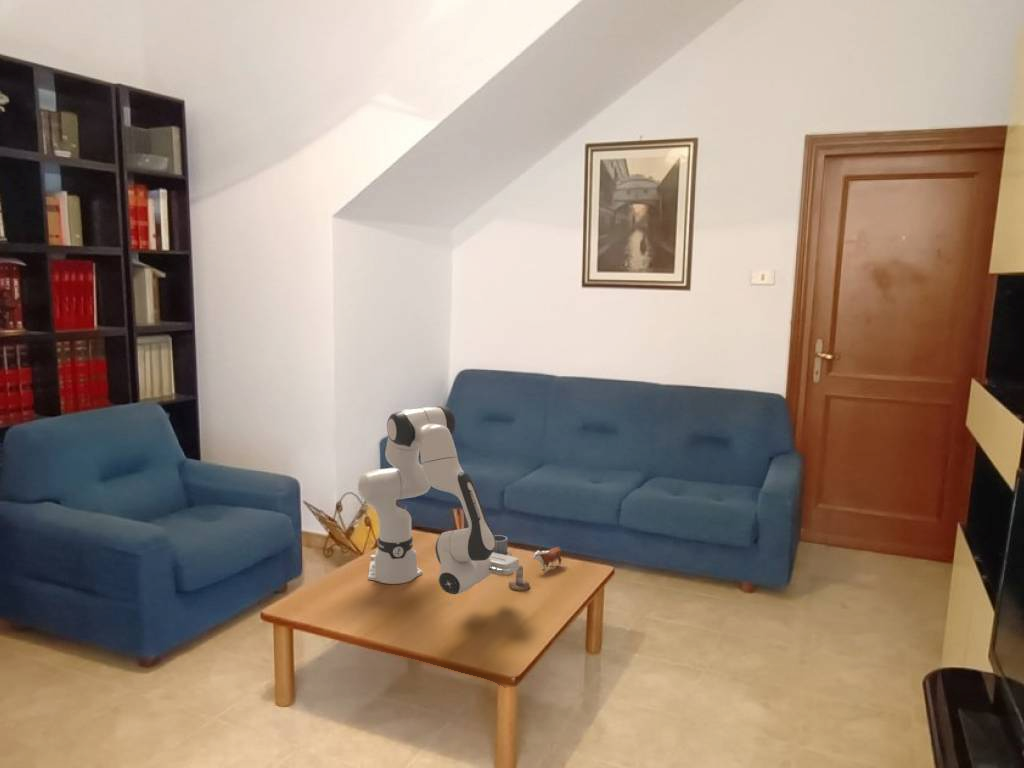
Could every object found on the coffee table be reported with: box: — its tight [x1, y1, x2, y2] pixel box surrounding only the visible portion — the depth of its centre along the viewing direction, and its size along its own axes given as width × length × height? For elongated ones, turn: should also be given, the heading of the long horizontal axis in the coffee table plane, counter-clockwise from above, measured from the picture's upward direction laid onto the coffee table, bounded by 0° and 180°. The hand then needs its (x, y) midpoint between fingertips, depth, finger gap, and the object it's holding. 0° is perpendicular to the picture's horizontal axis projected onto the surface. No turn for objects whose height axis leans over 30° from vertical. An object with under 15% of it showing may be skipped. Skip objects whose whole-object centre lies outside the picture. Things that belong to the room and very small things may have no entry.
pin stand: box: [508, 564, 530, 592], centre depth 262 cm, size 7×7×8 cm
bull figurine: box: [532, 546, 562, 574], centre depth 278 cm, size 4×13×8 cm, turn 132°
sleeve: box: [491, 534, 509, 575], centre depth 248 cm, size 6×6×11 cm
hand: (499, 552), depth 248 cm, fingers closed on sleeve, 6 cm apart
